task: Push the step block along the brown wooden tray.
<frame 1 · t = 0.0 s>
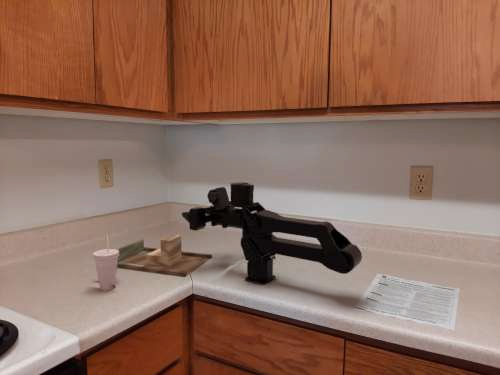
hand: (192, 211, 114), 17 cm above the worktop, fingers open, 9 cm apart
smoothie: (107, 288, 96), on the worktop
step block: (164, 262, 112), point 1 cm above the worktop, touching brown wooden tray
brown wooden tray: (161, 266, 112), on the worktop
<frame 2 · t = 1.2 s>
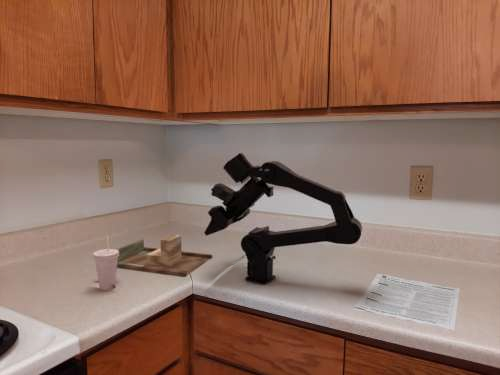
hand: (211, 230, 106), 13 cm above the worktop, fingers open, 8 cm apart
nothing on the worktop moved.
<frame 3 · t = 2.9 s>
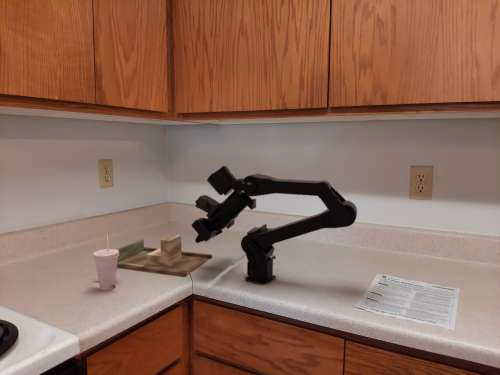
hand: (196, 241, 108), 9 cm above the worktop, fingers closed
nothing on the worktop moved.
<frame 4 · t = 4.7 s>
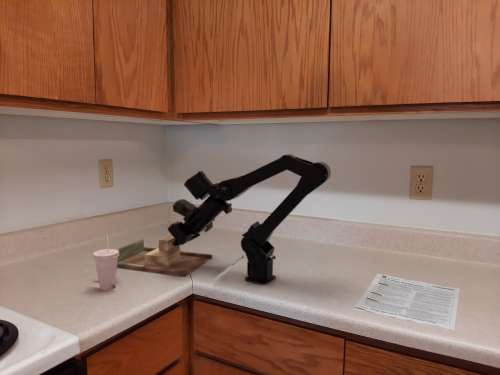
hand: (174, 244, 110), 7 cm above the worktop, fingers closed
nothing on the worktop moved.
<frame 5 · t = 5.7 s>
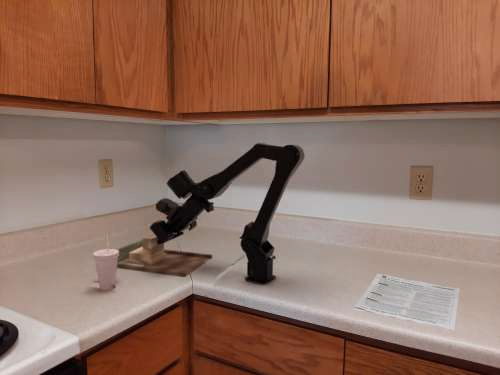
hand: (158, 243, 112), 7 cm above the worktop, fingers closed, pressing on step block
step block: (147, 260, 114), point 1 cm above the worktop, touching gripper, brown wooden tray
everything else where it was.
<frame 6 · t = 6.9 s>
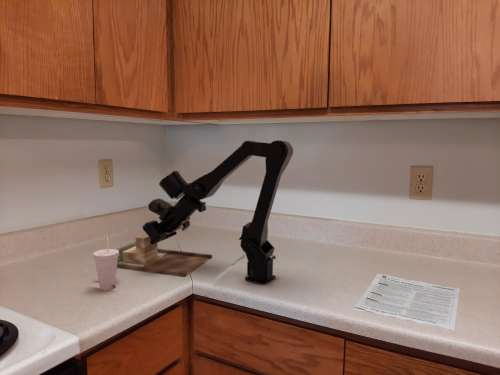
hand: (151, 243, 113), 7 cm above the worktop, fingers closed
step block: (140, 259, 115), point 1 cm above the worktop, touching brown wooden tray
everything else where it was.
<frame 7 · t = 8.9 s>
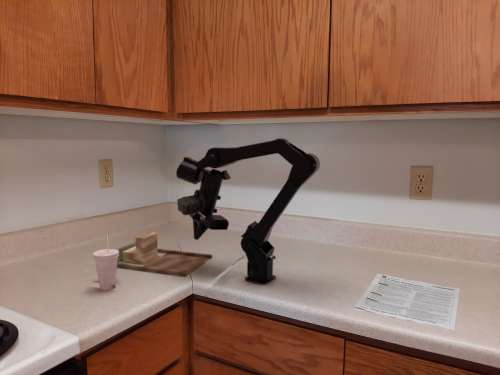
hand: (196, 239, 107), 10 cm above the worktop, fingers closed
nothing on the worktop moved.
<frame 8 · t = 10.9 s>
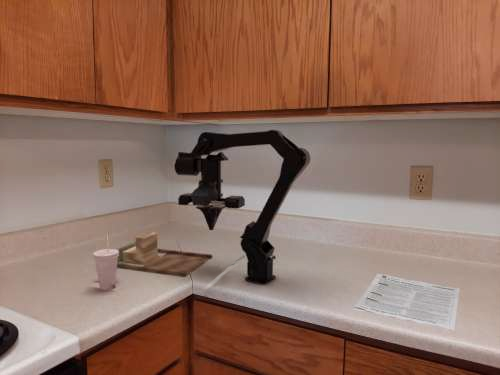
hand: (211, 229, 106), 13 cm above the worktop, fingers closed
nothing on the worktop moved.
at the end: step block 0.4 cm from the target spot, point 1.5 cm above the worktop; step block tilted 0° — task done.
